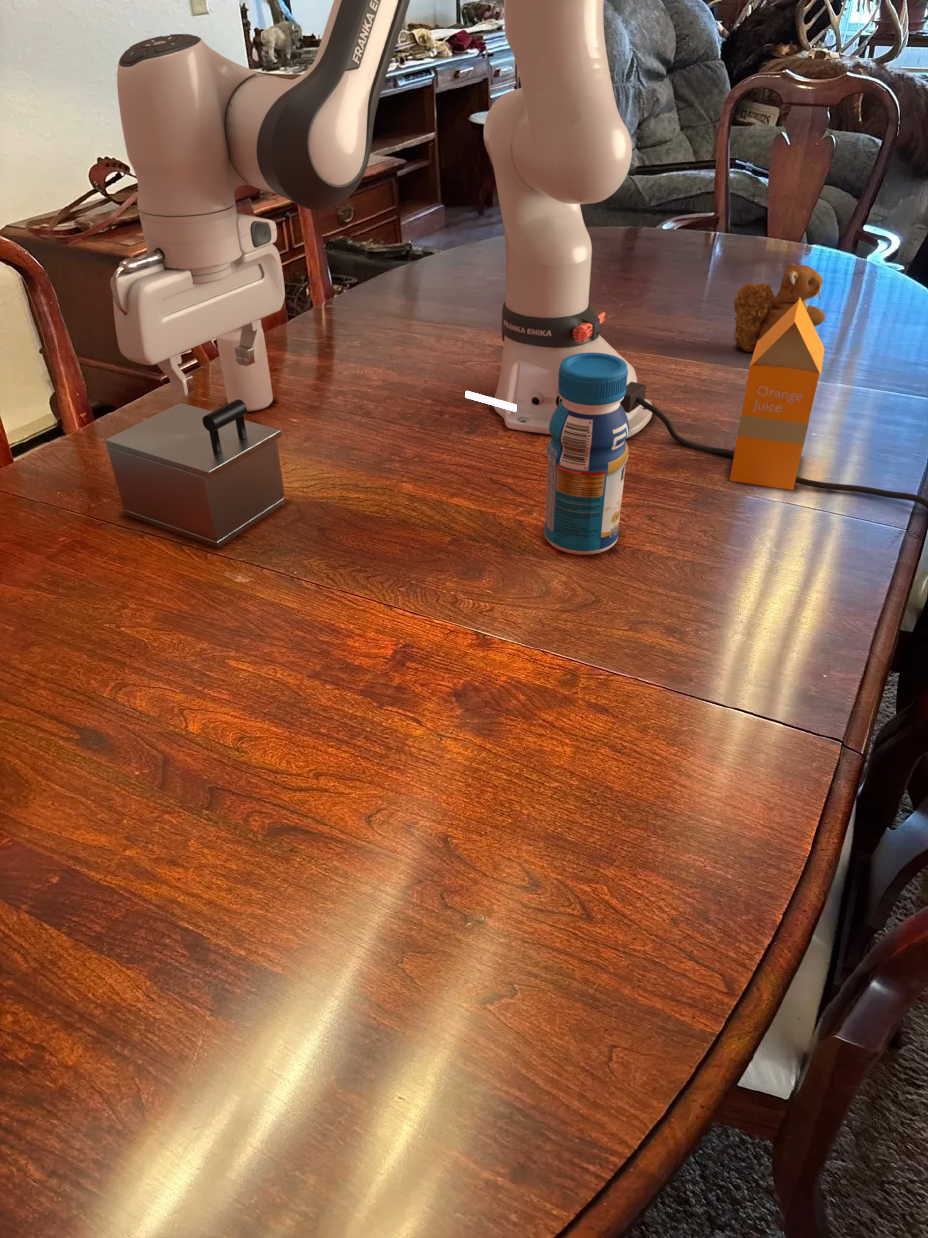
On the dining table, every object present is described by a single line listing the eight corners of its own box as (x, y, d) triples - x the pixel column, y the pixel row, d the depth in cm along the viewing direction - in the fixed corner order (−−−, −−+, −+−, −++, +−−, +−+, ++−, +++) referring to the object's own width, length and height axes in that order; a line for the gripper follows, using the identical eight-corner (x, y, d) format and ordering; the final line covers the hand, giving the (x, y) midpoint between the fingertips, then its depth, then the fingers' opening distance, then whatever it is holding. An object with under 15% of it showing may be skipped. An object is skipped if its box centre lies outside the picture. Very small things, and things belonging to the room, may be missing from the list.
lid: (282, 436, 104) (276, 392, 101) (210, 478, 96) (200, 432, 93) (181, 408, 110) (173, 366, 107) (106, 446, 102) (94, 402, 99)
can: (263, 414, 130) (250, 329, 123) (220, 410, 131) (205, 327, 124) (280, 396, 135) (268, 314, 128) (238, 393, 136) (225, 311, 129)
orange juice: (728, 480, 112) (757, 317, 101) (737, 449, 119) (765, 293, 107) (794, 490, 110) (832, 324, 98) (800, 458, 117) (836, 299, 105)
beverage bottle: (529, 527, 104) (535, 355, 92) (595, 512, 107) (609, 342, 95) (565, 565, 98) (576, 385, 86) (633, 547, 100) (654, 371, 89)
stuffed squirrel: (814, 365, 142) (834, 278, 134) (721, 355, 146) (734, 269, 138) (818, 344, 149) (836, 259, 141) (729, 334, 153) (742, 252, 145)
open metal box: (286, 503, 109) (276, 434, 104) (218, 548, 101) (203, 477, 96) (195, 474, 116) (182, 408, 110) (125, 515, 108) (106, 446, 102)
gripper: (133, 270, 79) (165, 420, 87) (287, 219, 93) (302, 353, 101) (82, 260, 82) (118, 406, 90) (239, 212, 96) (258, 343, 104)
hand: (217, 377), depth 96 cm, fingers open, 8 cm apart
